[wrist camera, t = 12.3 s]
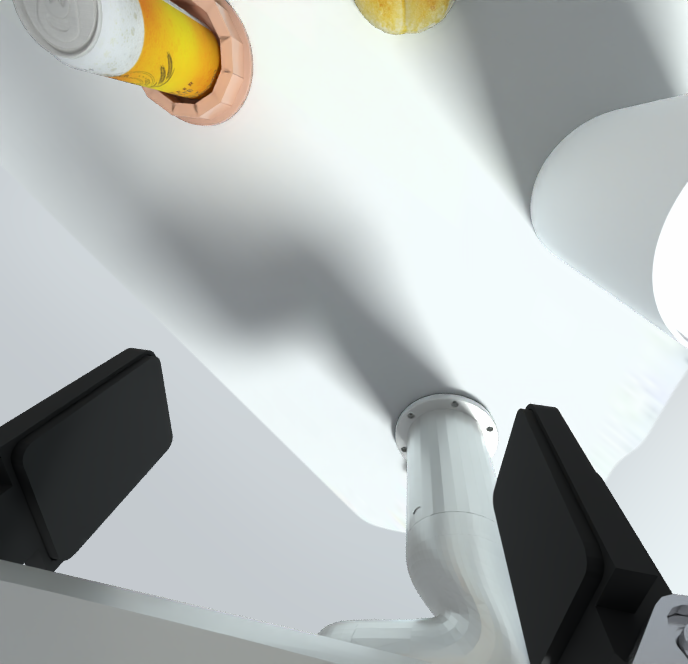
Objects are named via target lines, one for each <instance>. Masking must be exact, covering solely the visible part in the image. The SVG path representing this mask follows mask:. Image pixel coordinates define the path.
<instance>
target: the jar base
mask: <svg viewBox="0 0 688 664" xmlns="http://www.w3.org/2000/svg"><path fill="white" fill-rule="evenodd" d="M170 1H171V2H173V3H174V4H176V5H177V6H179V7H180V8H182V9H183V10H185V11H187V12H188V13H190V14H191V15H193V16H194V17H196V18H197V19H199V20H200V21H202V22H203V23H204V24H206V25H207V26H208V27H209V29H210V30H211V31H212V32H213V34H214V35H215V37H216V39H217V41H218V44H219V46H220V50H221V65H222V70H221V72H220V74H219V77H218V79H217V82H216V84H215V87H214V89H213V92H212V93H210V94H209V95H207V96H206V97H204V98H201V99H189V98H186V97H182V96H178V95H174V94H170V93H166V92H163V91H159V90H155V89H151V88H147V87H143V86H142V88H143V90H144V91H145V93H146V95H147V97H148V98H150V99H151V100H152V101H154V102H155V103H156V104H158V105H159V106H161V107H162V108H163V109H165V110H166V111H167V112H169V113H170V114H171V115H174V116H176V117H177V118H179V119H181V120H183V121H185V122H188V123H191V124H195V125H202V126H212V125H217V124H220V123H223V122H225V121H227V120H229V119H230V118H231V117H233V116H234V115H235V114H236V113H237V112H238V111H239V109H240V108H241V107H242V105H243V104H244V102H245V100H246V98H247V96H248V93H249V90H250V87H251V83H252V76H253V56H252V50H251V45H250V41H249V38H248V35H247V32H246V30H245V27H244V25H243V23H242V21H241V20H240V18H239V16H238V15H237V13H236V12H235V11H234V9H233V8H232V7H231V6H230V5H229V4H228V3H227V2H226V1H225V0H170Z"/></svg>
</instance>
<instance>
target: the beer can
mask: <svg viewBox="0 0 688 664" xmlns="http://www.w3.org/2000/svg"><path fill="white" fill-rule="evenodd" d="M13 3H14V6H15V9H16V12H17V14H18V16H19V18H20V20H21V22H22V24H23V26H24V27H25V29H26V30H27V32H28V33H29V34H30V36H31V37H32V38H33V39H34V40H35V41H36V42H37V43H38V44H39V45H40V46H41V47H42V48H44V49H45V50H47V51H48V52H50V53H51V54H52V55H53V56H54V57H55V58H56V59H58V60H59V61H61V62H62V63H64V64H65V65H67V66H69V67H72V68H75V69H78V70H82V71H86V72H90V73H94V74H97V75H101V76H105V77H109V78H113V79H117V80H120V81H124V82H128V83H132V84H136V85H140V86H143V87H147V88H151V89H155V90H159V91H163V92H166V93H170V94H174V95H178V96H182V97H186V98H189V99H201V98H204V97H206V96H207V95H209V94H210V93H212V92H213V89H214V87H215V84H216V82H217V79H218V77H219V74H220V72H221V70H222V65H221V50H220V46H219V44H218V41H217V39H216V37H215V35H214V34H213V32H212V31H211V30H210V29H209V27H208V26H207V25H206V24H204V23H203V22H202V21H200V20H199V19H197V18H196V17H194V16H193V15H191V14H190V13H188V12H187V11H185V10H183V9H182V8H180V7H179V6H177V5H176V4H174V3H173V2H171V1H170V0H13Z"/></svg>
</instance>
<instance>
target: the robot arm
mask: <svg viewBox="0 0 688 664" xmlns="http://www.w3.org/2000/svg"><path fill="white" fill-rule="evenodd" d="M172 438H173V436H172V429H171V423H170V417H169V411H168V405H167V399H166V393H165V387H164V381H163V374H162V369H161V363H160V360H159V358H157V357H156V356H155V354H154V352H152V351H150V350H142V349H135V348H128V349H126V350H124V351H123V352H121V353H120V354H118V355H116V356H115V357H113V358H111V359H110V360H108V361H107V362H105V363H103V364H102V365H100V366H98V367H97V368H95V369H93V370H92V371H90V372H89V373H87V374H85V375H84V376H82V377H81V378H79V379H77V380H76V381H74V382H72V383H71V384H69V385H67V386H66V387H64V388H62V389H61V390H59V391H58V392H56V393H54V394H53V395H51V396H49V397H48V398H46V399H45V400H43V401H41V402H40V403H38V404H36V405H35V406H33V407H32V408H30V409H28V410H27V411H25V412H23V413H22V414H20V415H19V416H17V417H15V418H14V419H12V420H10V421H9V422H7V423H5V424H4V425H2V426H1V427H0V664H688V596H685V595H677V594H672V592H671V590H670V589H669V587H668V586H667V584H666V582H665V581H664V579H663V577H662V576H661V574H660V573H659V571H658V569H657V568H656V566H655V564H654V563H653V561H652V559H651V558H650V556H649V554H648V553H647V551H646V550H645V548H644V546H643V545H642V543H641V541H640V540H639V538H638V536H637V535H636V533H635V532H634V530H633V528H632V527H631V525H630V523H629V522H628V520H627V518H626V517H625V515H624V514H623V512H622V510H621V509H620V507H619V505H618V504H617V502H616V500H615V499H614V497H613V496H612V494H611V492H610V491H609V489H608V487H607V486H606V484H605V482H604V481H603V479H602V478H601V477H600V475H599V474H598V473H596V472H595V470H594V468H593V467H592V465H591V463H590V462H589V460H588V458H587V457H586V455H585V453H584V452H583V450H582V448H581V447H580V445H579V443H578V442H577V440H576V438H575V437H574V435H573V433H572V432H571V430H570V429H569V427H568V425H567V424H566V422H565V420H564V419H563V417H562V415H561V414H560V412H559V410H558V409H557V408H555V407H549V406H542V405H535V404H529V405H528V406H527V407H526V409H519V410H518V412H517V414H516V418H515V421H514V424H513V428H512V431H511V434H510V438H509V441H508V444H507V448H506V451H505V455H504V458H503V461H502V465H501V468H500V471H499V475H498V478H497V479H496V475H495V471H494V467H493V464H492V460H491V457H492V456H493V455H494V453H495V451H496V449H497V445H498V431H497V427H496V424H495V422H494V420H493V417H492V416H491V415H490V413H489V412H488V411H487V410H486V409H485V408H484V407H483V406H482V405H480V404H479V403H477V402H475V401H474V400H472V399H469V398H466V397H464V396H459V395H454V394H436V395H430V396H427V397H423V398H421V399H419V400H417V401H415V402H413V403H412V404H411V405H409V406H408V407H407V408H406V409H405V410H404V411H403V412H402V414H401V415H400V417H399V419H398V421H397V424H396V431H395V439H396V444H397V447H398V450H399V451H400V453H401V455H402V456H403V457H404V458H405V460H406V461H407V506H406V562H407V568H408V572H409V575H410V578H411V580H412V583H413V585H414V587H415V589H416V590H417V592H418V594H419V595H420V597H421V598H422V600H423V601H424V603H425V604H426V606H427V607H428V608H429V610H430V611H431V612H432V613H433V615H434V616H435V617H433V618H421V619H416V620H350V621H340V622H335V623H333V624H330V625H328V626H326V627H325V628H324V629H322V630H321V631H320V632H319V633H318V634H313V633H309V632H304V631H300V630H296V629H292V628H288V627H284V626H280V625H276V624H272V623H267V622H263V621H259V620H255V619H251V618H246V617H242V616H238V615H234V614H230V613H226V612H221V611H217V610H213V609H209V608H205V607H200V606H196V605H192V604H188V603H184V602H180V601H175V600H171V599H167V598H162V597H159V596H154V595H150V594H146V593H142V592H138V591H133V590H129V589H125V588H121V587H116V586H112V585H108V584H104V583H99V582H95V581H91V580H86V579H82V578H78V577H73V576H69V575H65V574H61V573H56V572H54V571H55V570H56V569H57V568H58V567H59V565H60V564H61V563H62V562H63V561H65V560H68V559H70V558H71V557H72V556H73V555H74V554H75V553H76V552H77V551H78V550H79V549H80V548H81V547H82V545H83V544H84V543H85V542H86V541H87V540H88V539H89V538H90V537H91V535H92V534H93V533H94V532H95V531H96V530H97V529H98V527H99V526H100V525H101V524H102V523H103V522H104V521H105V519H107V517H108V516H109V515H110V514H111V513H112V512H113V511H114V510H115V508H116V507H117V506H118V505H119V504H120V503H121V502H122V501H123V499H124V498H125V497H126V496H127V495H128V494H129V493H130V492H131V491H132V489H133V488H134V487H135V486H136V485H137V484H138V483H139V482H140V480H141V479H142V478H143V477H144V476H145V475H146V474H147V472H148V471H149V470H150V469H151V468H152V467H153V466H154V464H156V462H157V461H158V460H159V459H160V458H161V457H162V456H163V454H164V453H165V452H166V451H167V450H168V449H169V447H170V445H171V442H172ZM24 563H25V565H23V564H24Z"/></svg>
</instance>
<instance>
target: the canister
mask: <svg viewBox="0 0 688 664" xmlns="http://www.w3.org/2000/svg"><path fill="white" fill-rule="evenodd" d="M530 211H531V220H532V224H533V228H534V230H535V233H536V235H537V237H538V239H539V240H540V242H541V243H542V245H543V246H544V247H545V248H546V249H547V250H548V251H549V252H550V253H551V254H553V255H554V256H555V257H557V258H558V259H560V260H561V261H563V262H564V263H566V264H567V265H568V266H570V267H571V268H573V269H574V270H576V271H577V272H578V273H580V274H581V275H583V276H584V277H586V278H587V279H589V280H590V281H591V282H593V283H594V284H596V285H597V286H599V287H600V288H601V289H603V290H604V291H606V292H607V293H609V294H610V295H612V296H613V297H614V298H616V299H617V300H619V301H620V302H622V303H623V304H624V305H626V306H627V307H629V308H630V309H632V310H633V311H634V312H636V313H637V314H639V315H640V316H642V317H643V318H645V319H646V320H647V321H649V322H650V323H652V324H653V325H655V326H656V327H657V328H659V329H660V330H662V331H663V332H665V333H666V334H668V335H669V336H670V337H672V338H673V339H675V340H676V341H678V342H679V343H680V344H682V345H683V346H685V347H686V348H688V94H684V95H679V96H675V97H671V98H666V99H662V100H657V101H653V102H648V103H644V104H640V105H635V106H631V107H626V108H622V109H617V110H613V111H610V112H607V113H604V114H601V115H599V116H597V117H595V118H593V119H591V120H589V121H587V122H585V123H584V124H582V125H580V126H579V127H577V128H576V129H575V130H573V131H572V132H571V133H570V134H568V135H567V136H566V137H565V138H564V139H563V140H562V141H561V142H560V143H559V144H558V145H557V146H556V147H555V148H554V150H553V151H552V152H551V153H550V155H549V156H548V158H547V159H546V161H545V162H544V164H543V166H542V167H541V169H540V171H539V173H538V176H537V178H536V181H535V184H534V187H533V191H532V196H531V206H530Z"/></svg>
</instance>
